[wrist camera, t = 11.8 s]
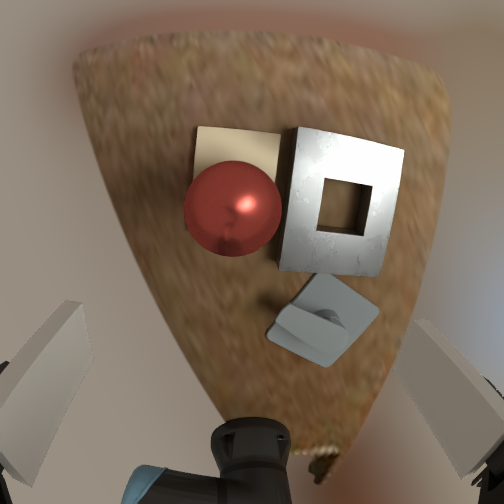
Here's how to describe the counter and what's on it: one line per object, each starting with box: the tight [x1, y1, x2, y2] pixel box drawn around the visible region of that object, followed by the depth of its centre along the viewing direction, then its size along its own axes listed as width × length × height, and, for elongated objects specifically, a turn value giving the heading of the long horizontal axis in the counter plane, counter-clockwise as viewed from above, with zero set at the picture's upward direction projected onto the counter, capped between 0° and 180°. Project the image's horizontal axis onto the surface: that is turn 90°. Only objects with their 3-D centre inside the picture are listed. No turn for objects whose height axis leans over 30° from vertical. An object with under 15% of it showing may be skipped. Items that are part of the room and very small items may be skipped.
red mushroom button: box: [184, 160, 282, 257], centre depth 25 cm, size 6×6×15 cm
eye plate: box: [275, 127, 404, 277], centre depth 33 cm, size 16×13×3 cm
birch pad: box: [189, 126, 281, 232], centre depth 33 cm, size 12×9×1 cm
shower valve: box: [267, 273, 379, 367], centre depth 38 cm, size 12×6×15 cm
